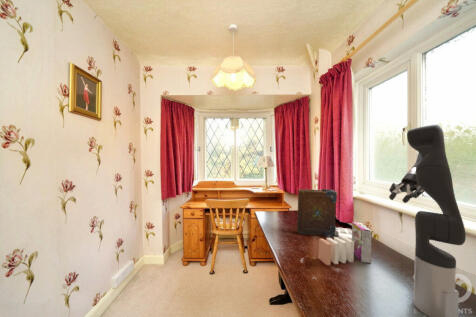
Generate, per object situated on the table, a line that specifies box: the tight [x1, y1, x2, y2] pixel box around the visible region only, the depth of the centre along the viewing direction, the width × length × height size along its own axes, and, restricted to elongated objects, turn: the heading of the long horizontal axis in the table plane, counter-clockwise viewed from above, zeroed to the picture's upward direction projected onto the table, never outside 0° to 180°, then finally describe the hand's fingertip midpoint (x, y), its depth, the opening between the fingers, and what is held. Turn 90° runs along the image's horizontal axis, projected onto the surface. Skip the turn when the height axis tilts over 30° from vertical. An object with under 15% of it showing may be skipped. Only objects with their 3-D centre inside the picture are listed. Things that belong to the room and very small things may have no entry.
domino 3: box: [340, 237, 355, 263], centre depth 90 cm, size 6×2×10 cm, turn 14°
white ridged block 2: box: [333, 236, 347, 264], centre depth 89 cm, size 6×2×10 cm, turn 14°
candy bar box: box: [351, 221, 373, 264], centre depth 92 cm, size 11×5×16 cm, turn 168°
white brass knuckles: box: [335, 227, 352, 240], centre depth 118 cm, size 3×18×15 cm
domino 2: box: [325, 237, 339, 265], centre depth 88 cm, size 6×2×10 cm, turn 14°
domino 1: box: [318, 238, 332, 266], centre depth 87 cm, size 6×2×10 cm, turn 14°
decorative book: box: [296, 188, 338, 238], centre depth 119 cm, size 23×7×30 cm, turn 86°
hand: (397, 200), depth 92 cm, fingers open, 5 cm apart
